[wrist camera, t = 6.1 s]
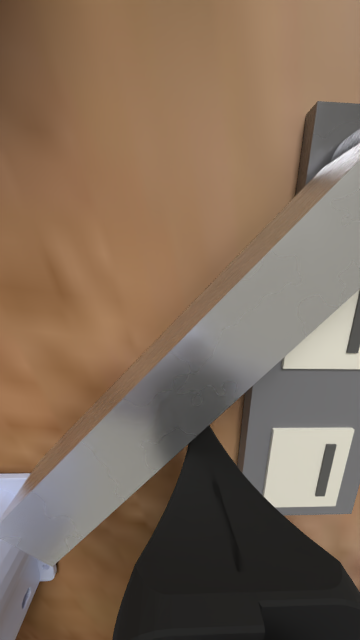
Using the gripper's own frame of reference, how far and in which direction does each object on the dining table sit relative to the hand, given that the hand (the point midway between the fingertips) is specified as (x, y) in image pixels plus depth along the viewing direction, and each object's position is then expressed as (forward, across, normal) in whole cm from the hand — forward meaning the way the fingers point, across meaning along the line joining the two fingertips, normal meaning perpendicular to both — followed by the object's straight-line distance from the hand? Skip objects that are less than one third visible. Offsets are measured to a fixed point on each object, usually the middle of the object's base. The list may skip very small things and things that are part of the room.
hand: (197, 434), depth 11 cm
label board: (+3, -7, -1) cm, 8 cm away
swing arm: (+1, +1, -4) cm, 4 cm away
